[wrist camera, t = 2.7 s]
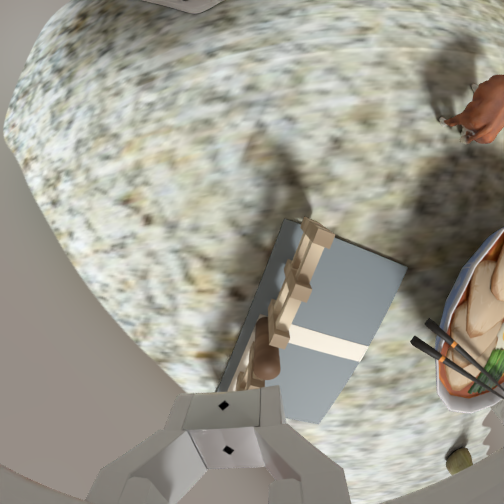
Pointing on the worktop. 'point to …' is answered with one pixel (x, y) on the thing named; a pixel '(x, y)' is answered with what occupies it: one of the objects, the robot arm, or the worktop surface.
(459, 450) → the fennel bulb
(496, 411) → the skincare box
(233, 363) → the card
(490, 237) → the ramen bowl
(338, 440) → the worktop surface
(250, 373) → the fixed fence panel
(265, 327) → the corner post
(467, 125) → the bull figurine
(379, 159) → the worktop surface
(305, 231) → the gate panel
